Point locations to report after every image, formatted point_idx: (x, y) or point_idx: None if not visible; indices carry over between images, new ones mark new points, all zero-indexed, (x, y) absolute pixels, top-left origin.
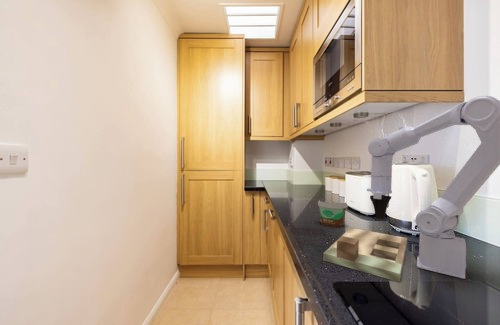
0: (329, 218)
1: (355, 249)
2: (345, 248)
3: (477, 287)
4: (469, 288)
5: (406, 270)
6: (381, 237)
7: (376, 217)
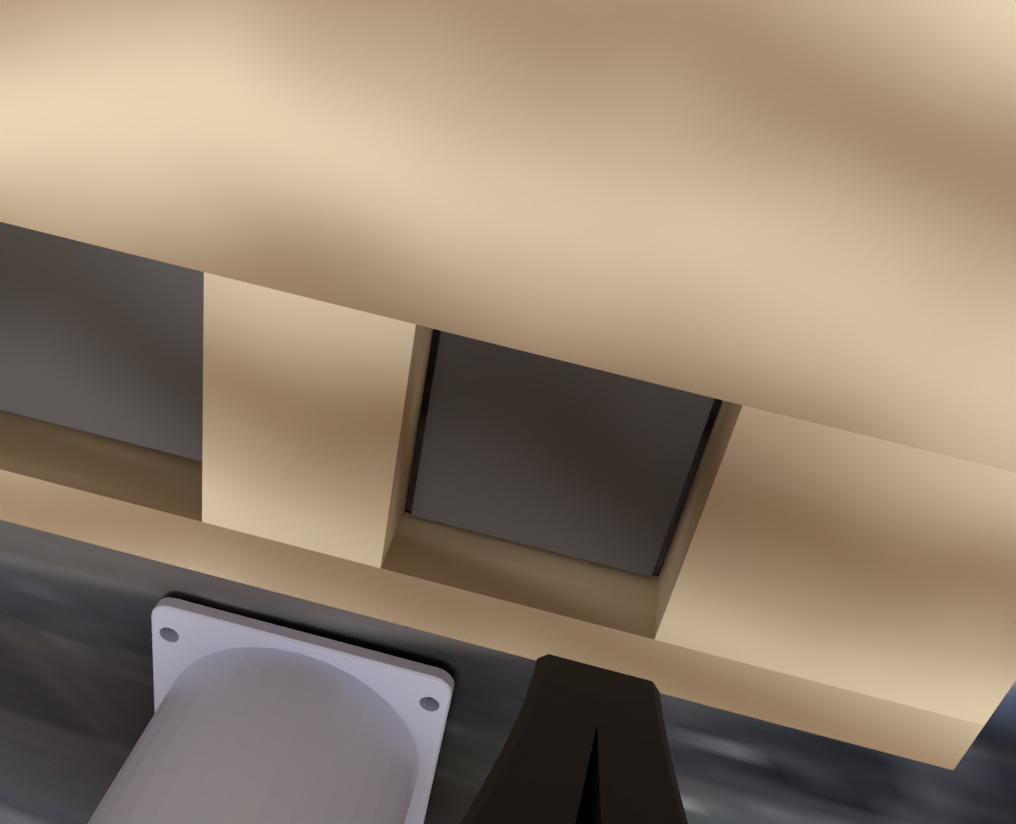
0: None
1: None
2: None
3: None
4: (41, 772)
5: None
6: (847, 458)
7: (538, 669)
